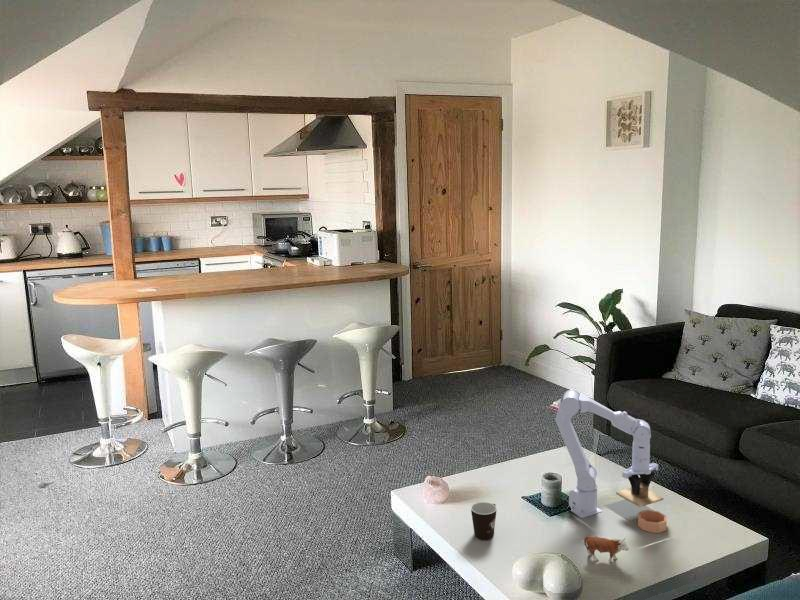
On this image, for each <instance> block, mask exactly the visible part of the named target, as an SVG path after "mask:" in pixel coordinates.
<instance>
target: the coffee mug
mask: <svg viewBox="0 0 800 600" xmlns="http://www.w3.org/2000/svg"><path fill="white" fill-rule="evenodd" d="M497 510H498V508H497V505H496V504H495V503H492V502H488V501H478V502H476V503H473V504H472V505H471V506H470V512H471V519H472V520H471V521H472V525H473V526H472V527H473V534H474V537H475V538H476V539H477V540H479V541H489V540H492V539H493V538H494V534H495V528H496V527H495V525H496V516H497Z"/></svg>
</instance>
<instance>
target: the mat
mask: <svg viewBox="0 0 800 600" xmlns="http://www.w3.org/2000/svg"><path fill="white" fill-rule="evenodd" d="M603 506H604V507H606V508H607V509H609V510H610V511H612V512H613V513H615V514H617V515H618V516H620V517H622V518H623V519H625V520H627V521H628V522H632V521H634V520H638V514H639V512H641V511H645V510H652V511H655V510H654V509H652V508H651V507H648V505H645V506H642V507H638V506H636V505H634V504H632V503H631V502H629V501H627V500H626V499H624V498H623V499H621V500H617V501H615V502H611V503H606V504H604V505H603Z"/></svg>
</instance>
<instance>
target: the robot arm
mask: <svg viewBox="0 0 800 600" xmlns="http://www.w3.org/2000/svg"><path fill="white" fill-rule="evenodd" d="M579 411H580V414H582V413H586V412H591V413H593V414H595V415H597V416H600V417H602V418H604V419H606V420H608V421H610V423H611V426H613V427H615V428H616V429H618V430H620V431H622V432H624V433H626V434H628V435H632V439H633V440H632V450H631V451H632V452H631V457H632V458H631V466H630V467H628V468H627V469H626V470H623V471H622V473H621V474H622V478H625V479H628V481H629V483H630V488H631V487H632V491H633V493H634V494H635V495H639V489H640V483H641V482H642V483H644V484H645V485H647V486H649V487H650V484H651V483H652V480H653V479H654V478H655V473H654V472H652V471H658V470H659V464H658V463H655V462H652V463H650V460H651V459H650V458H651V443H650V442H651V438H652V433H651V426H650V424H649V423H648V422H647V421H645V420H644V419H639V418H635V417H633V416H631V415H629V414H628V412H627V411H625V410H624V411H621V410H618V411H613V410H612V409H610V408H608V407H606V406H605V405H603V404H601V403H599V402H597V401H596V400H594V399H592V398H591V397H589V396H587V394H584V393H582V392H578V391H577V390H575V389H568V390H566V391H565V392H564V393H563V395H562V396H561V397H560V401H559V404H558V408H557V412H556V417H555V422H556V423H555V424H556V425H557V428H558V429H559V430H558V431H559V432H560V435H561V437H562V440H563V442H564V444H565V447H566V449H567V451H568V454H569V455H570V458H571V461H572V463H573V467H574V470H575V471H574V472H575V475H576V478H577V480H576V485H575V488H573V489H571V490H570V491H569V494H568V507H569V506H570V507H571V510H570V511H571V513H573V514H575V515H577V516H578V517H579V518H586V517H588V516H593V515H596V514H599V513H602V512H603V510H602V509H600V508H599V507H598V485H597V484H596V483H597V482H596V481H597V480H596V478H597V476H598V473H597V470H596V468H595V467H594V466H593V465H592V464H591V462H590V461H589V459H588V458H587V456H586V453H585V452H584V448H583V447H582V444H581V442H580V439H579V438H578V435H577V433H576V431H575V428H574V425H573V423H572V421H571V420H572V418H573V416H575V415H577V414H578V412H579Z"/></svg>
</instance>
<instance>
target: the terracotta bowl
mask: <svg viewBox="0 0 800 600" xmlns="http://www.w3.org/2000/svg"><path fill="white" fill-rule="evenodd" d="M652 510H653V509H652ZM652 510H645V511H641V512H639V514H638V519H637V527H638V528H639V529H641V530H643V531H645V532H648V533H652V534H660V533H663V532H665V531H667V521H668V517H667V515H666V514H664V513H662V512H660V511H658V510H654V511H652Z"/></svg>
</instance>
